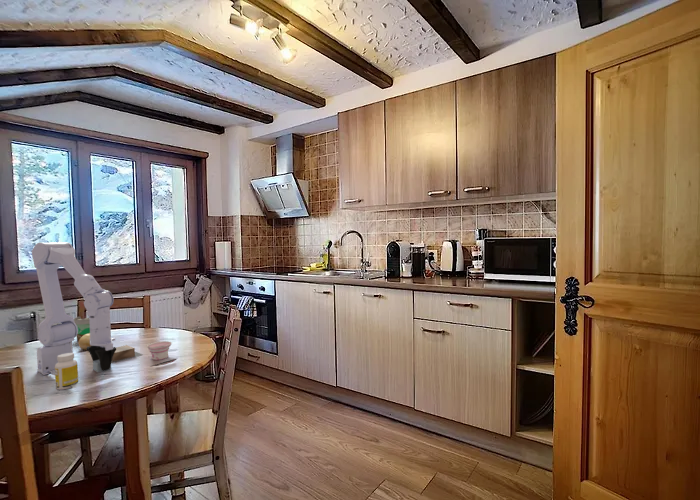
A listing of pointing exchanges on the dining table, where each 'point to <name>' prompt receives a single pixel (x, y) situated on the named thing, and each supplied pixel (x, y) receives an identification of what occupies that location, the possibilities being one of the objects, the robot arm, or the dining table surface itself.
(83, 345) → the tan round lump
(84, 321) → the food container
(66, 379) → the supplement bottle
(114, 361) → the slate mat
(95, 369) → the gray cube
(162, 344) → the teacup
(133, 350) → the walnut slab
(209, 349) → the dining table surface
